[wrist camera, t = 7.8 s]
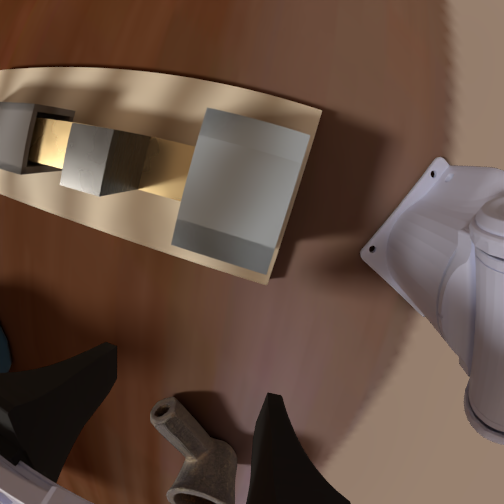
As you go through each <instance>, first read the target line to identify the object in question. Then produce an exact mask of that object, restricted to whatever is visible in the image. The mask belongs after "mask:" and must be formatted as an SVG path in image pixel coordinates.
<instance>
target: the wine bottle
mask: <svg viewBox="0 0 504 504" xmlns="http://www.w3.org/2000/svg"><path fill="white" fill-rule="evenodd" d="M11 364H12V358H11V354H10V349H9V345H8V340H7V338H6V336H5V334H4V332H3V330H2V328H1V326H0V373H9V370H10V367H11Z"/></svg>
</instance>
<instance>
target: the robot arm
mask: <svg viewBox="0 0 504 504" xmlns="http://www.w3.org/2000/svg"><path fill="white" fill-rule="evenodd" d="M431 171H433V172H434V177H433V178H432V177H431ZM371 246H375V249H374V251H372V252H370V251H369V248H370V247H371ZM360 257H361V258H362V259H363V261H365V262H366V263H367V264H368V265H369V266H370V267H371V268H372V269H373V270H374V271H375V272H377V273H378V274H379V275H380V276H381V277H382V278H383V279H384V280H385V281H386V282H387V283H388V284H389V285H390V286H392V287H393V288H394V289H395V290H396V291H397V292H398V293H399V294H400V295H401V296H402V297H403V298H404V299H405V300H406V301H407V302H408V303H409V304H410V305H411V306H412V307H413V308H414V309H415V310H416V311H417V312H418V313H419V314H420V315H421V316H423V317H426V318H427V319H428V320H429V321H430V323H431V324H432V325H433V326H434V328H435V329H436V330H437V331H438V332H439V333H440V335H441V336H442V337H443V339H444V340H445V341H446V342H447V343H448V345H449V346H450V347H451V349H452V350H453V351H454V352H455V353H456V354H457V355H458V356H459V364H460V365H461V367H462V368H463V370H464V371H465V372H466V374H467V375H468V376H469V377H470V379H469V381H468V384H467V387H466V389H465V395H464V408H465V413H466V416H467V419H468V421H469V422H470V424H471V426H472V427H473V428H474V429H475V430H476V431H477V432H478V433H479V434H480V435H482V436H483V437H484V438H487V439H488V440H490V441H492V442H495V443H498V444H501V445H504V171H503V170H501V169H498V168H493V167H477V166H452V165H449V164H448V163H447V161H446V160H445V159H444V158H442V157H437V158H435V159H434V161H433V162H432V163H431V165H430V166H429V167H428V169H427V170H426V171H425V173H424V174H423V175H422V177H421V178H420V179H419V180H418V182H417V183H416V184H415V186H414V187H413V188H412V189H411V191H410V192H409V193H408V194H407V196H406V197H405V198H404V199H403V201H402V202H401V203H400V204H399V206H398V207H397V208H396V209H395V210H394V212H393V213H392V214H391V215H390V217H389V218H388V219H387V220H386V221H385V223H384V224H383V225H382V226H381V227H380V228H379V230H378V231H377V232H376V233H375V234H374V236H373V237H372V238H371V239H370V240H369V241H368V243H367V244H366V245H365V246H364V247H363V248H362V250H361V251H360ZM116 379H117V346H115V345H112V344H110V343H107V342H105V343H103V344H101V345H98V346H96V347H94V348H92V349H90V350H88V351H86V352H83V353H81V354H79V355H77V356H74V357H72V358H69V359H67V360H64V361H62V362H59V363H56V364H53V365H50V366H46V367H42V368H38V369H33V370H27V371H21V372H9V373H0V504H94V503H92V502H90V501H88V500H86V499H84V498H82V497H80V496H78V495H76V494H74V493H72V492H70V491H68V490H67V489H65V488H63V487H61V486H60V485H58V484H56V482H57V480H58V477H59V475H60V472H61V470H62V467H63V465H64V463H65V461H66V459H67V456H68V454H69V452H70V450H71V448H72V446H73V444H74V443H75V441H76V439H77V437H78V435H79V434H80V432H81V430H82V428H83V427H84V425H85V424H86V423H87V421H88V420H89V419H90V417H91V416H92V415H93V413H94V412H95V411H96V409H97V408H98V407H99V406H100V404H101V403H102V402H103V400H104V399H105V398H106V396H107V395H108V393H109V392H110V390H111V388H112V386H113V385H114V383H115V381H116ZM246 504H351V503H350V501H349V500H347V499H346V498H345V497H344V496H342V495H341V494H340V493H339V492H338V491H336V490H335V489H334V488H333V487H332V486H331V485H330V484H329V483H328V482H327V481H326V480H325V478H324V477H323V476H322V475H321V474H320V472H319V471H318V470H317V469H316V468H315V466H314V465H313V463H312V462H311V461H310V459H309V458H308V456H307V454H306V453H305V451H304V449H303V448H302V446H301V444H300V442H299V440H298V438H297V436H296V434H295V432H294V429H293V427H292V425H291V422H290V420H289V417H288V414H287V411H286V408H285V405H284V402H283V398H282V396H281V395H277V394H272V393H267V396H266V398H265V401H264V403H263V406H262V409H261V411H260V414H259V416H258V419H257V421H256V426H255V431H254V437H253V445H252V461H251V478H250V486H249V492H248V497H247V502H246Z"/></svg>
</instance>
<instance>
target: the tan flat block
mask: <svg viewBox="0 0 504 504" xmlns="http://www.w3.org/2000/svg"><path fill="white" fill-rule="evenodd" d="M194 150H195V146H191V145H187V144H183V143H178V142H174V141H170V140H165V139H161V138H156V137H151V136H147V135H142V134H137V133H132V132H127V131H122V130H116V129H111V128H105V127H99V126H94V125H87V124H81V123H75V122H68V121H61V120H53V119H46V118H37V117H36V120H35V125H34V129H33V134H32V139H31V144H30V149H29V155H28V160H29V161H33V162H37V163H41V164H45V165H49V166H53V167H56V168H60V169H62V174H61V180H60V185H62V186H65V187H68V188H72V189H75V190H78V191H82V192H85V193H88V194H92V195H95V196H98V197H101V196H106V195H111V194H116V193H121V192H127V191H132V190H142V191H145V192H149V193H152V194H156V195H159V196H163V197H166V198H170V199H173V200H177V201H180V202H181V199H182V195H183V191H184V188H185V184H186V180H187V176H188V172H189V168H190V165H191V161H192V157H193V154H194Z"/></svg>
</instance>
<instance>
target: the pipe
mask: <svg viewBox="0 0 504 504" xmlns="http://www.w3.org/2000/svg"><path fill="white" fill-rule="evenodd" d="M150 419H151V423H152V424H153V425H154V427H155V428H156V429H157V430H158V431H159V432H160V433H161V434H162V435H163V436H164V437H165V438H166V439H167V440H168V441H169V442H170V443H171V444H172V445H173V446H174V447H175V448H176V449H178V450H179V451H180V452H181V453H182V454H183V455H184V457H185V458H186V459H185V462H184V464H183V466H182V468H181V471H180V473H179V475H178V476H177V478H176V480H175V482H174V483H173V485H172V487H171V488H170V489H169V490H168V492H167V494H166V496H167V499H168V501H169V502H170V503H171V504H235V477H236V470H237V456H236V453H235V451H234V450H233V448H232V447H231V446H230V445H229V444H227V443H226V442H224V441H222V440H218V439H214V438H211V437H210V436H209V435H208V433H207V432H206V431H205V430H204V429H203V428H202V427H201V425H200V424H199V423H198V422H197V421H196V419H195V418H194V417H193V416H192V415H191V414H190V413H189V412H188V411H187V410H186V408H185V407H184V406H183V405H182V404H181V403H180V402H179V401H178V400H177V399H176V398H175V397H170V398H165V399H163V400H161V401H159V402H157V403H156V405H155V406H154V407H153V409H152V411H151V414H150Z"/></svg>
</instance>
